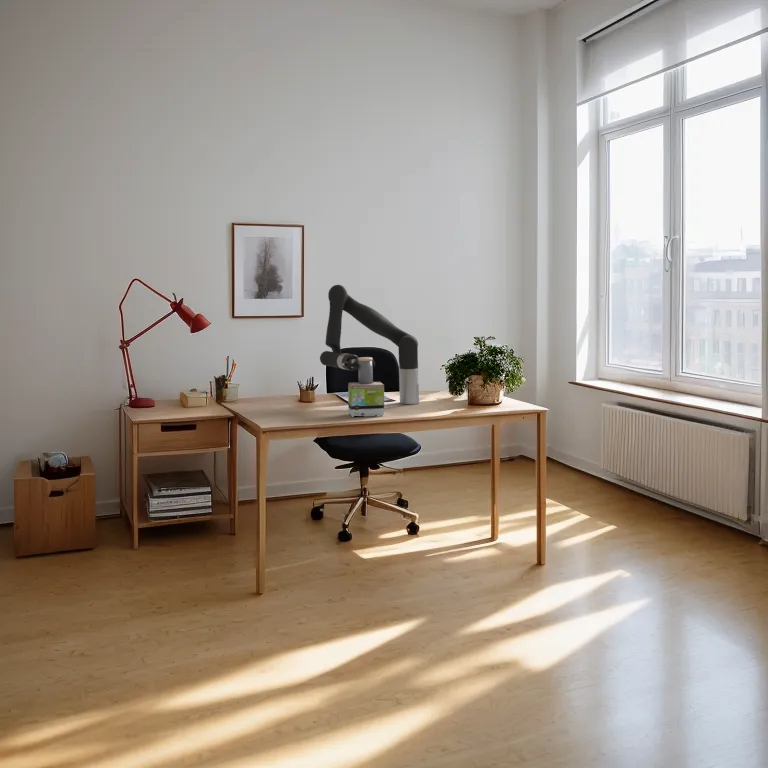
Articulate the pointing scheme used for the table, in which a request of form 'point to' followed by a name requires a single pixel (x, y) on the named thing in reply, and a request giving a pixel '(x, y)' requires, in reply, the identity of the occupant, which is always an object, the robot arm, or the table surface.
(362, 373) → the canister
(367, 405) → the tea box
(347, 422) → the table surface
